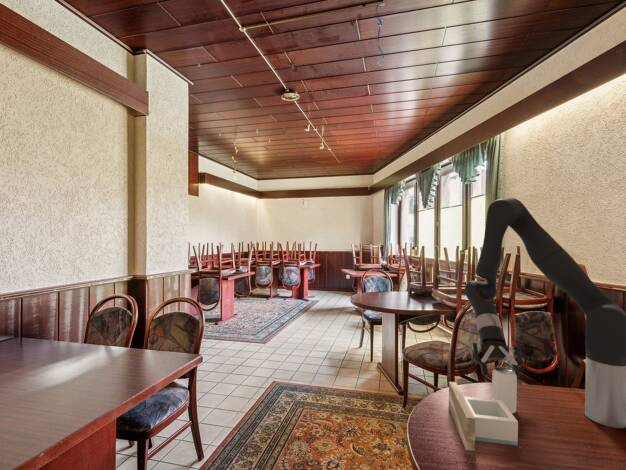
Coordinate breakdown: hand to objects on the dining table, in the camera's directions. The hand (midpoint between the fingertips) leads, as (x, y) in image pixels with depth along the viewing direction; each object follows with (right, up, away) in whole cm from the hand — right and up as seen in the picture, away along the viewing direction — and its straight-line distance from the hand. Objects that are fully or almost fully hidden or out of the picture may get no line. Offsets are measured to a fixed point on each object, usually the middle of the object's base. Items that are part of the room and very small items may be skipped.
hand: (501, 377), depth 102 cm
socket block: (-12, -9, -13) cm, 19 cm away
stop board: (-18, -9, -12) cm, 23 cm away
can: (0, -9, -2) cm, 9 cm away
